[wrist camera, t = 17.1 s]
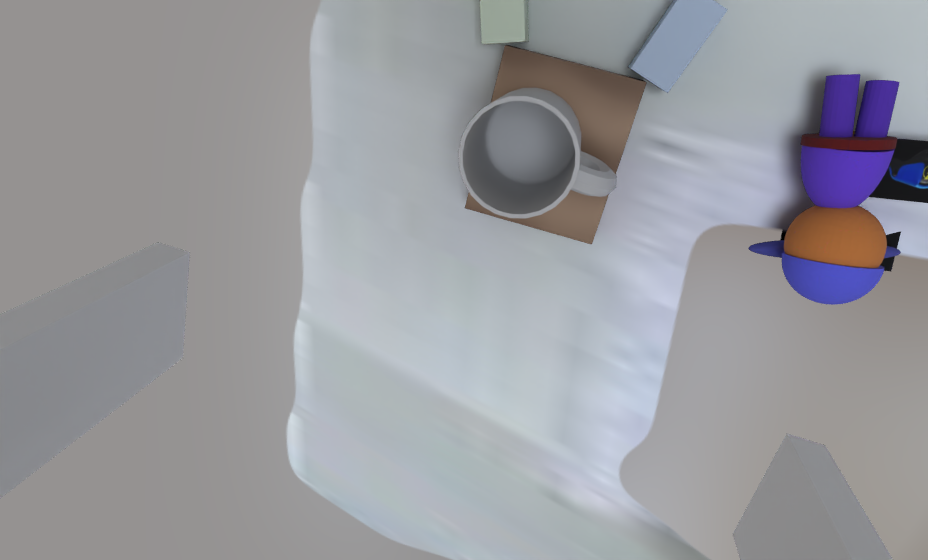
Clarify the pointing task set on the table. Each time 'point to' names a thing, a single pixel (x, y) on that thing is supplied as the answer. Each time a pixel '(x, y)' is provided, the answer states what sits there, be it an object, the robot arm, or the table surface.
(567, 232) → the slab
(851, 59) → the table surface
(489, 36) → the brick sage
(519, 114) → the cup
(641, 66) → the brick blue
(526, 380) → the table surface
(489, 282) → the table surface
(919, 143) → the toy
